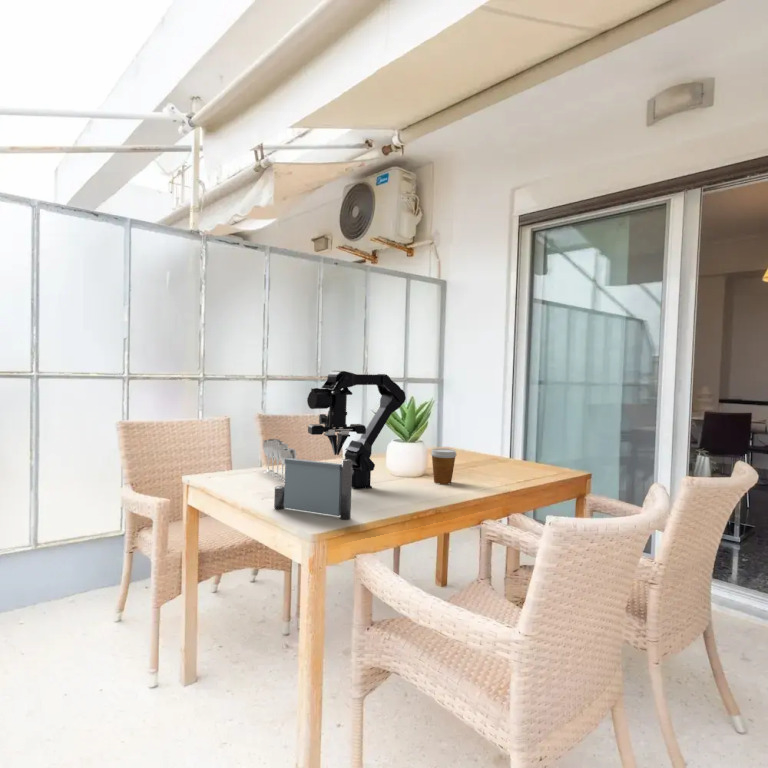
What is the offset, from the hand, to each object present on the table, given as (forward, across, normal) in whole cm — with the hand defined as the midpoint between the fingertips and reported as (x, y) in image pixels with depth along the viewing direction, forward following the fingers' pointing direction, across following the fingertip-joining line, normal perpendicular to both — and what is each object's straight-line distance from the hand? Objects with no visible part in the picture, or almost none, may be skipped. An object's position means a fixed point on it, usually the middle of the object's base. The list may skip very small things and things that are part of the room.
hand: (336, 454), depth 174 cm
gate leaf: (+11, +14, +24) cm, 30 cm away
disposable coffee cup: (+12, -42, -2) cm, 44 cm away
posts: (+12, +14, +24) cm, 31 cm away
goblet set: (+12, +14, -26) cm, 32 cm away
